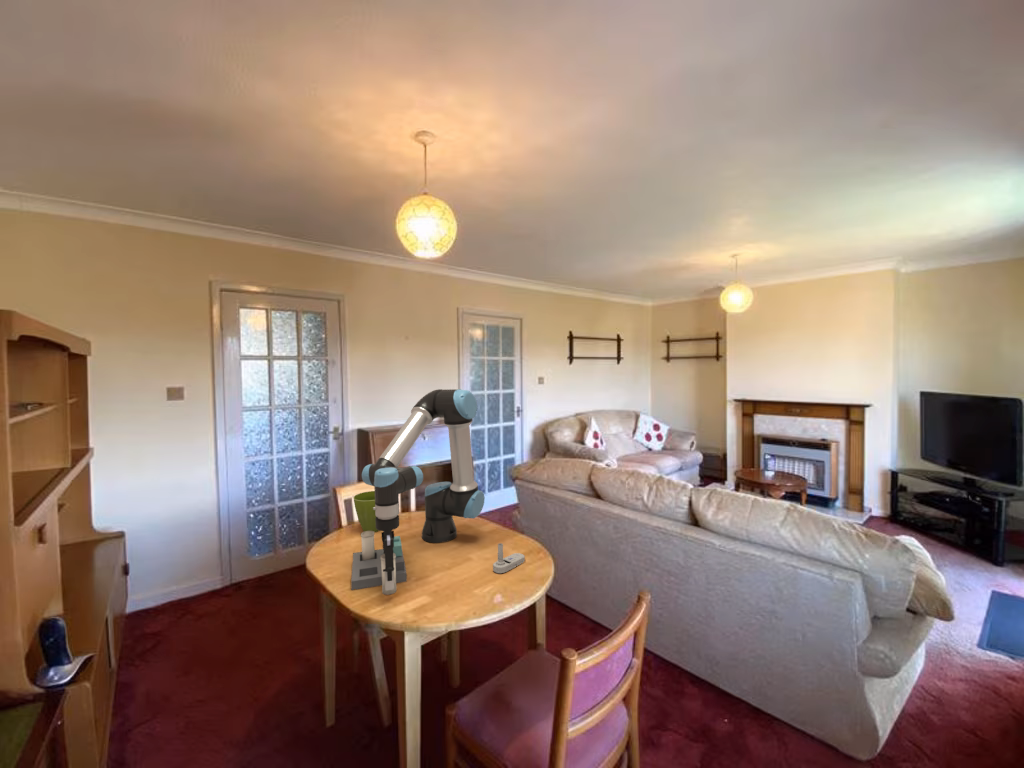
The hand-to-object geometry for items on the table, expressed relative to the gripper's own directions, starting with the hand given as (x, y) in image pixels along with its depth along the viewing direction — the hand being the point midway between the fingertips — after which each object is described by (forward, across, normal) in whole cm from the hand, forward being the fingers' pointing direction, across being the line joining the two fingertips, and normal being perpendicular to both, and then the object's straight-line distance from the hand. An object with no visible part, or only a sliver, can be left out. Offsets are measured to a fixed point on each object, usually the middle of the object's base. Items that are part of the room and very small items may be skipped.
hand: (389, 581), depth 149 cm
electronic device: (+4, -4, +43) cm, 43 cm away
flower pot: (+4, -60, -5) cm, 60 cm away
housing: (+3, -16, -3) cm, 17 cm away
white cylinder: (+3, -23, -6) cm, 24 cm away
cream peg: (+3, 0, 0) cm, 3 cm away
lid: (0, -24, +3) cm, 24 cm away
